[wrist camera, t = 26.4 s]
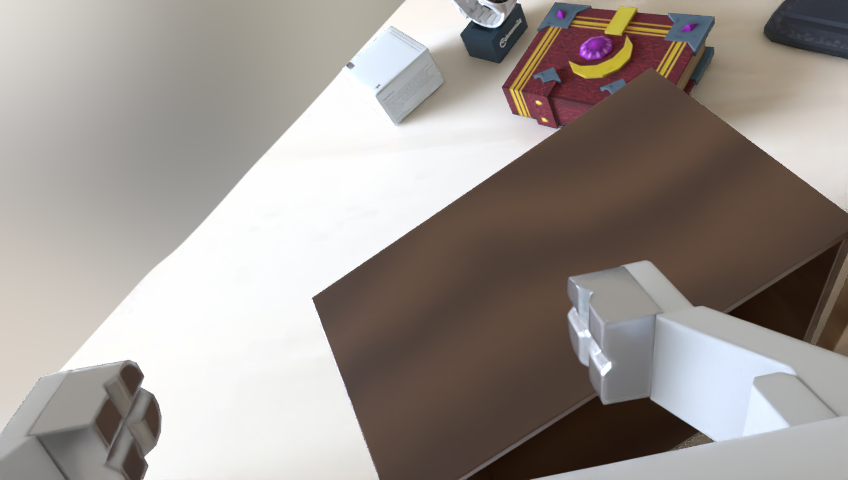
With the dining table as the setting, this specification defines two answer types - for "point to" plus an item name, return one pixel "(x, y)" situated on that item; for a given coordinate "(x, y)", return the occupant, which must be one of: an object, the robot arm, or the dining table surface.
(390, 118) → the small box
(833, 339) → the cupboard door
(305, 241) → the dining table surface
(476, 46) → the watch
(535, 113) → the decorative book
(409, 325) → the cupboard
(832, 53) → the wallet
